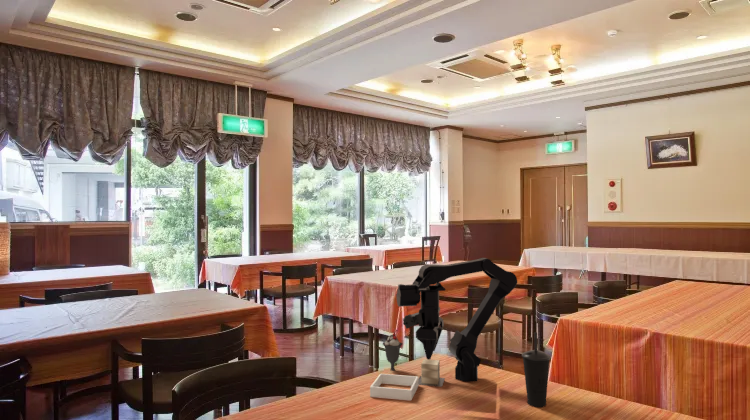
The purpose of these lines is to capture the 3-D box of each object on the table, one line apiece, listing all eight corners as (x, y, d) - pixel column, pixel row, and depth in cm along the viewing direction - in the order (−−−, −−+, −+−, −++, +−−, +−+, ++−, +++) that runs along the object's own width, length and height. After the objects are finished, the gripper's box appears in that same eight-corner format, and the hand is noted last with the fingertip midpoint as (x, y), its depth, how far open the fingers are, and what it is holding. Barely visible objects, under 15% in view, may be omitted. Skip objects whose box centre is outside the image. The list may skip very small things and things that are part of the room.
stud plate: (445, 381, 152) (444, 367, 152) (441, 390, 144) (441, 375, 144) (420, 379, 154) (420, 365, 154) (415, 388, 146) (415, 373, 146)
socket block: (439, 379, 151) (439, 360, 151) (437, 384, 146) (437, 364, 146) (424, 377, 152) (423, 359, 152) (421, 383, 147) (421, 363, 148)
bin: (418, 389, 145) (418, 376, 145) (411, 404, 134) (411, 390, 134) (380, 386, 148) (380, 373, 148) (370, 400, 137) (370, 386, 137)
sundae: (401, 377, 157) (400, 331, 157) (381, 376, 158) (380, 330, 158) (404, 370, 163) (403, 327, 163) (384, 369, 164) (384, 326, 165)
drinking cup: (516, 401, 135) (515, 330, 136) (537, 397, 138) (536, 328, 139) (535, 411, 128) (534, 336, 129) (557, 406, 131) (556, 334, 132)
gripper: (410, 299, 161) (411, 345, 160) (398, 309, 143) (399, 362, 142) (443, 300, 158) (444, 347, 158) (435, 311, 140) (436, 364, 140)
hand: (430, 354), depth 149 cm, fingers open, 9 cm apart
